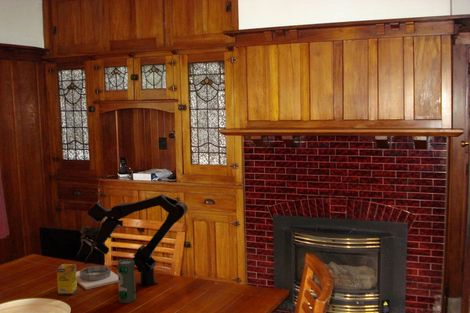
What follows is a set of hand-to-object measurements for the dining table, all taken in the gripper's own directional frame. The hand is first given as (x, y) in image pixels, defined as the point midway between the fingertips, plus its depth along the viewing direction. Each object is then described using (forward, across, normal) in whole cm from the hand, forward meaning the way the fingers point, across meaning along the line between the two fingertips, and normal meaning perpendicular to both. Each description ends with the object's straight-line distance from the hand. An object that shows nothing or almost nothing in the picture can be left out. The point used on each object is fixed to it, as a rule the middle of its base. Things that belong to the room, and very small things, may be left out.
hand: (81, 260), depth 211 cm
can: (+1, +22, +16) cm, 27 cm away
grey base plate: (+2, -10, +15) cm, 18 cm away
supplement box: (+13, 0, +4) cm, 14 cm away
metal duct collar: (+2, -10, +15) cm, 18 cm away
